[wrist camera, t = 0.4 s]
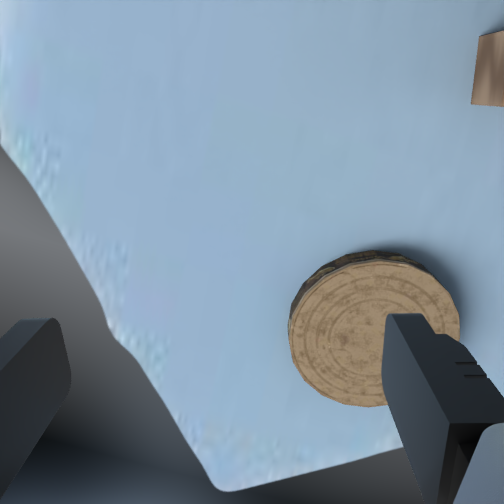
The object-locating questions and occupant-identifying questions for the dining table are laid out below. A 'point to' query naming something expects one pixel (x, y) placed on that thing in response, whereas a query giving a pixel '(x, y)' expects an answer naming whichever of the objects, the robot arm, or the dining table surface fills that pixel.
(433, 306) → the round wood slice
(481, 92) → the walnut block
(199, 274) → the dining table surface
